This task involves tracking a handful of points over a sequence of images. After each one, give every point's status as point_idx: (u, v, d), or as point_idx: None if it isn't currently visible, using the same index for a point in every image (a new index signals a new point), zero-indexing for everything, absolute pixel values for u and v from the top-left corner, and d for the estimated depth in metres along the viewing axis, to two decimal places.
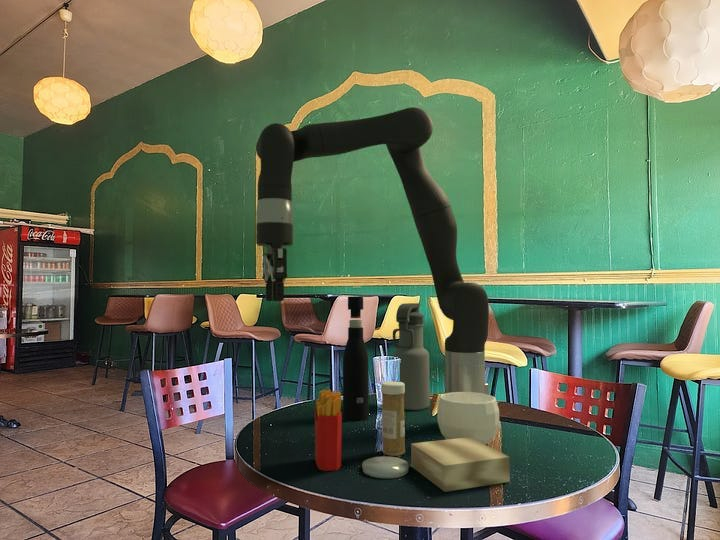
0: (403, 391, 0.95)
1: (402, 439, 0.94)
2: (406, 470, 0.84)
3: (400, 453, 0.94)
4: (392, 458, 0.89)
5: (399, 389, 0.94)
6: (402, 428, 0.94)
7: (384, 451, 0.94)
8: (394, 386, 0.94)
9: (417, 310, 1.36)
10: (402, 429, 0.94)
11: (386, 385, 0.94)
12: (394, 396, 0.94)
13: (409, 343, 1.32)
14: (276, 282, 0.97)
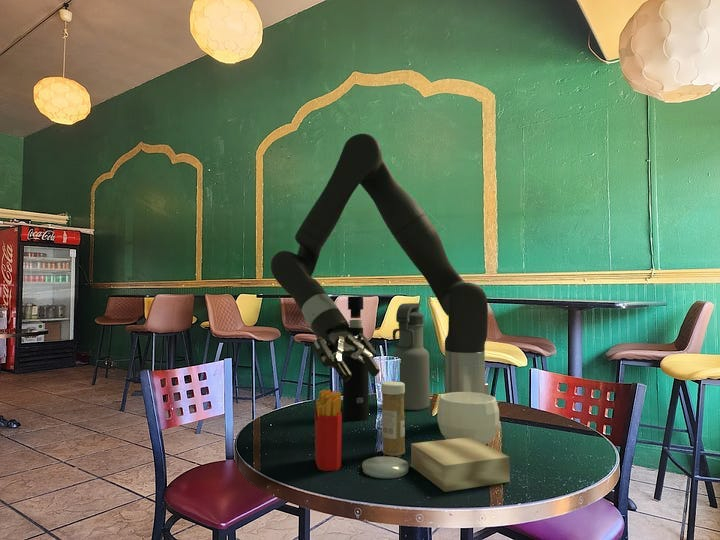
0: (403, 391, 0.95)
1: (402, 439, 0.94)
2: (406, 470, 0.84)
3: (400, 453, 0.94)
4: (392, 458, 0.89)
5: (399, 389, 0.94)
6: (402, 428, 0.94)
7: (384, 451, 0.94)
8: (394, 386, 0.94)
9: (417, 310, 1.36)
10: (402, 429, 0.94)
11: (386, 385, 0.94)
12: (394, 396, 0.94)
13: (409, 343, 1.32)
14: (334, 366, 1.00)
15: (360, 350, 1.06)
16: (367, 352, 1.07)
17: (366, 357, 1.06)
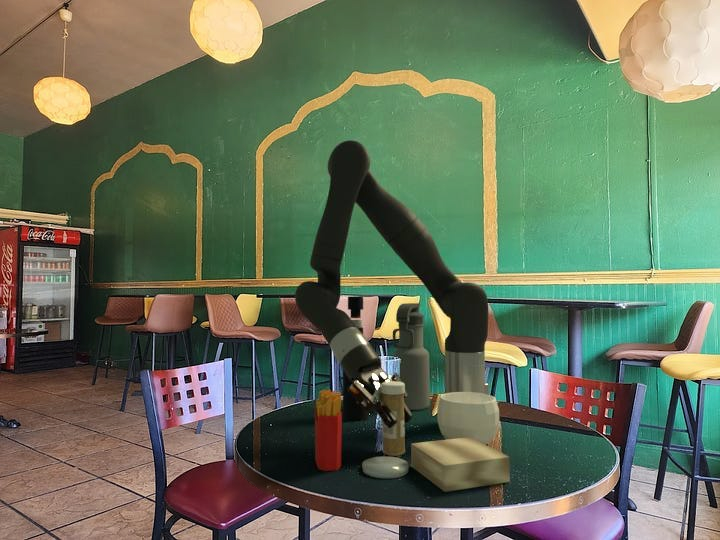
0: (403, 391, 0.95)
1: (402, 439, 0.94)
2: (406, 470, 0.84)
3: (400, 453, 0.94)
4: (392, 458, 0.89)
5: (399, 389, 0.94)
6: (402, 428, 0.94)
7: (384, 451, 0.94)
8: (394, 386, 0.94)
9: (417, 310, 1.36)
10: (402, 429, 0.94)
11: (386, 385, 0.94)
12: (394, 396, 0.94)
13: (409, 343, 1.32)
14: (377, 411, 0.94)
15: None
16: None
17: None
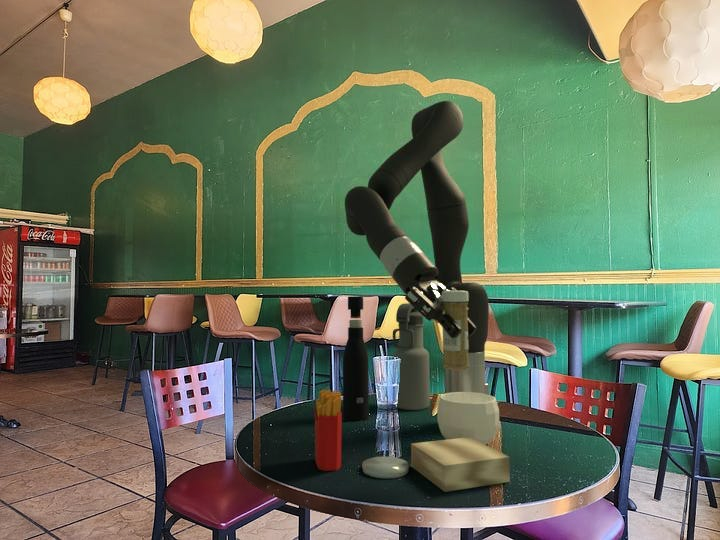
0: (467, 299, 0.85)
1: (466, 352, 0.84)
2: (406, 470, 0.84)
3: (464, 367, 0.83)
4: (392, 458, 0.89)
5: (463, 295, 0.84)
6: (466, 340, 0.84)
7: (446, 365, 0.84)
8: (458, 292, 0.84)
9: None
10: (466, 341, 0.84)
11: (448, 291, 0.84)
12: (458, 303, 0.84)
13: (409, 343, 1.32)
14: (439, 321, 0.84)
15: None
16: None
17: None
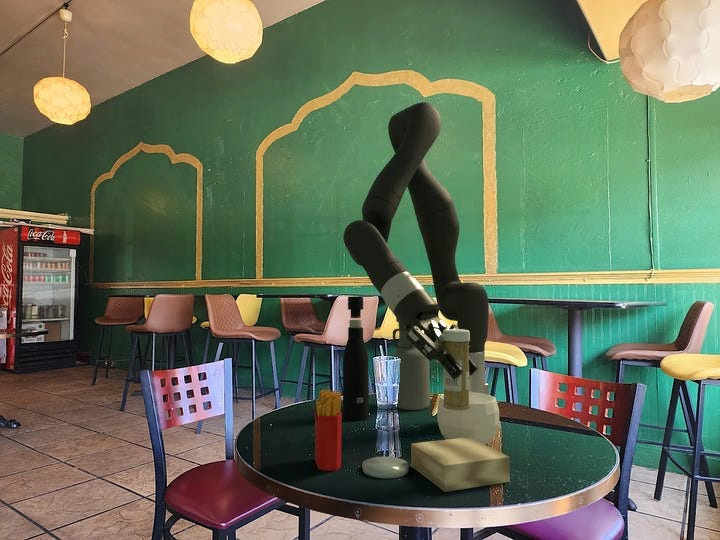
0: (468, 338, 0.84)
1: (467, 392, 0.84)
2: (406, 470, 0.84)
3: (465, 408, 0.83)
4: (392, 458, 0.89)
5: (465, 335, 0.83)
6: (467, 380, 0.84)
7: (447, 405, 0.84)
8: (459, 332, 0.83)
9: None
10: (467, 381, 0.84)
11: (450, 331, 0.84)
12: (459, 343, 0.83)
13: (409, 343, 1.32)
14: (440, 361, 0.83)
15: None
16: None
17: None
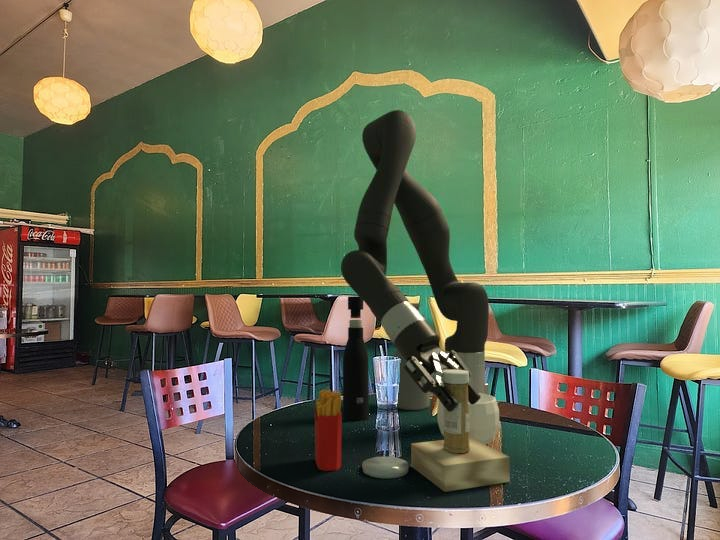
0: (468, 380, 0.84)
1: (467, 434, 0.83)
2: (406, 470, 0.84)
3: (465, 450, 0.83)
4: (392, 458, 0.89)
5: (464, 377, 0.83)
6: (467, 422, 0.83)
7: (447, 448, 0.83)
8: (458, 374, 0.83)
9: None
10: (467, 423, 0.83)
11: (449, 373, 0.83)
12: (458, 386, 0.83)
13: None
14: (435, 393, 0.82)
15: None
16: None
17: None
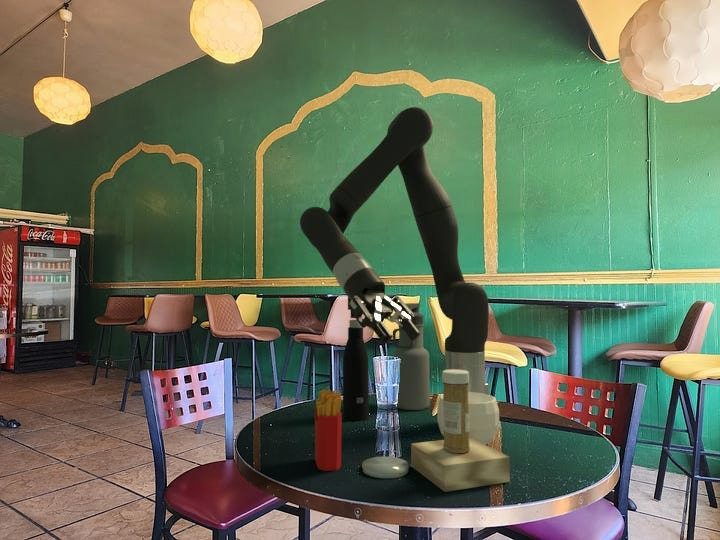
0: (468, 380, 0.84)
1: (467, 434, 0.83)
2: (406, 470, 0.84)
3: (465, 450, 0.83)
4: (392, 458, 0.89)
5: (464, 377, 0.83)
6: (467, 422, 0.83)
7: (447, 448, 0.83)
8: (458, 374, 0.83)
9: (417, 310, 1.36)
10: (467, 423, 0.83)
11: (449, 373, 0.83)
12: (458, 386, 0.83)
13: (409, 343, 1.32)
14: (372, 327, 0.91)
15: (398, 312, 0.98)
16: (405, 314, 0.98)
17: (404, 320, 0.98)
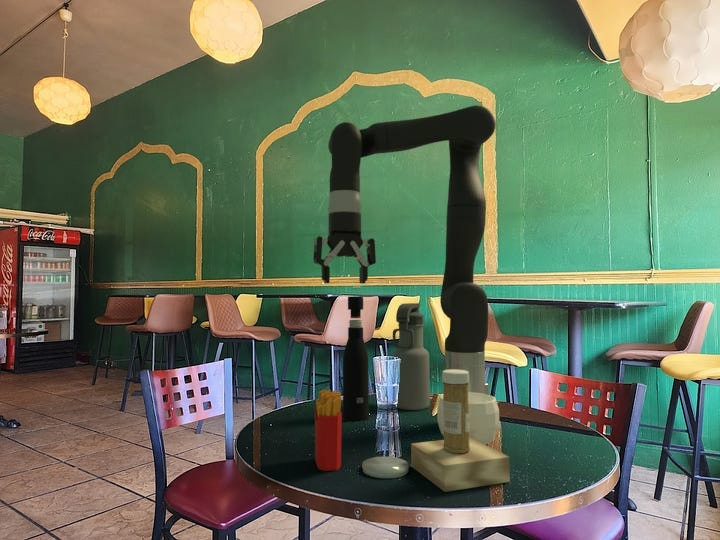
0: (468, 380, 0.84)
1: (467, 434, 0.83)
2: (406, 470, 0.84)
3: (465, 450, 0.83)
4: (392, 458, 0.89)
5: (464, 377, 0.83)
6: (467, 422, 0.83)
7: (447, 448, 0.83)
8: (458, 374, 0.83)
9: (417, 310, 1.36)
10: (467, 423, 0.83)
11: (449, 373, 0.83)
12: (458, 386, 0.83)
13: (409, 343, 1.32)
14: (321, 266, 1.11)
15: (358, 257, 1.13)
16: (364, 261, 1.13)
17: (362, 264, 1.14)
